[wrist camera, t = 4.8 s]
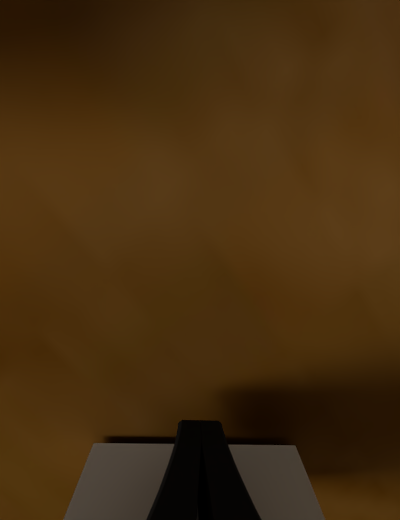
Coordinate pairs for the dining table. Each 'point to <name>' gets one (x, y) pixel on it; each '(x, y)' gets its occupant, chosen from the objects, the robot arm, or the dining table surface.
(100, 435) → the dining table surface
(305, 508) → the white ended gray rod
